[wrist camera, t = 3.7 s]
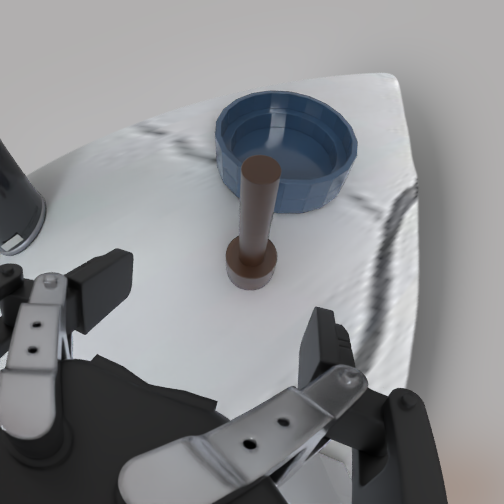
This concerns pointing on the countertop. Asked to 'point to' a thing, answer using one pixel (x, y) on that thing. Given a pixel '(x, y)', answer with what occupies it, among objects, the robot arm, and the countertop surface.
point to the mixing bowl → (287, 146)
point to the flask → (319, 483)
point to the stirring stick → (255, 224)
